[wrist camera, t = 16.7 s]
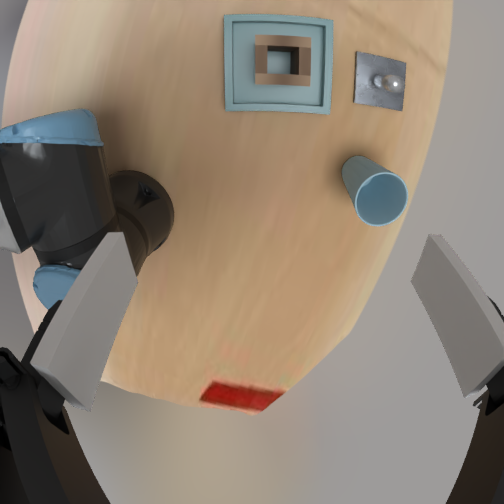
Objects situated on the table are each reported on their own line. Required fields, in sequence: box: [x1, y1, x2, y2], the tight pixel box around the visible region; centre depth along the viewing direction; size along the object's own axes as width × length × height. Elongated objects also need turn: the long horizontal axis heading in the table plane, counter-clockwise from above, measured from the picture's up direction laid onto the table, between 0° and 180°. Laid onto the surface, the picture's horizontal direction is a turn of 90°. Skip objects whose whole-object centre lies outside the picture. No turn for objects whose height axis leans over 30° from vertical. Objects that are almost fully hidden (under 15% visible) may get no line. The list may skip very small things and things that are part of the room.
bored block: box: [255, 35, 311, 87], centre depth 28 cm, size 6×6×8 cm
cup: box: [342, 156, 408, 226], centre depth 37 cm, size 8×8×10 cm
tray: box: [224, 14, 333, 115], centre depth 31 cm, size 14×14×2 cm
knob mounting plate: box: [353, 52, 406, 111], centre depth 30 cm, size 8×8×6 cm
